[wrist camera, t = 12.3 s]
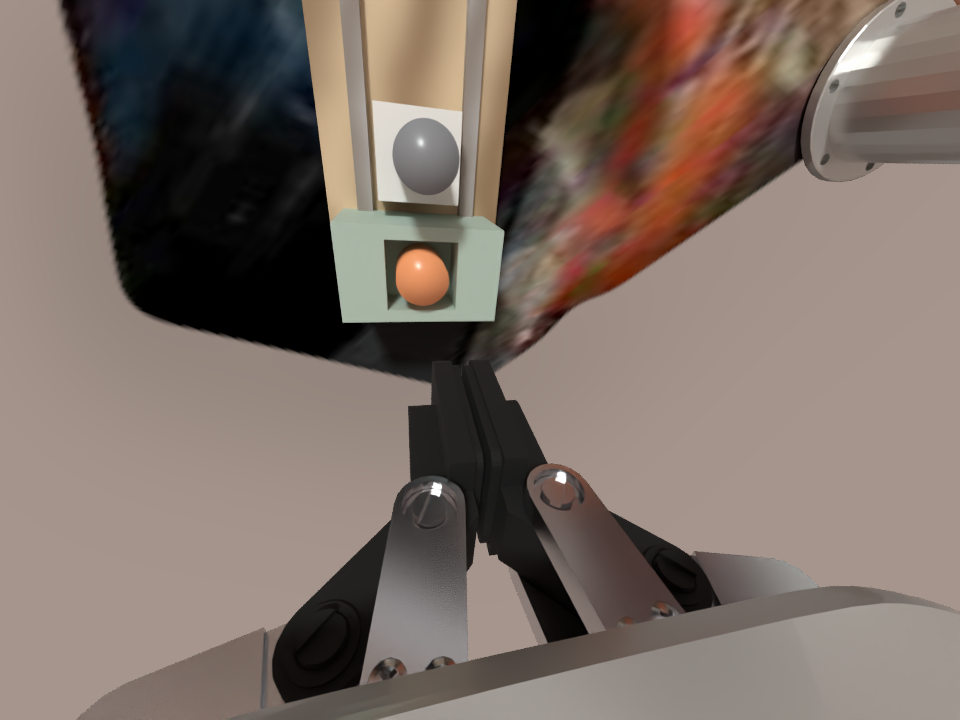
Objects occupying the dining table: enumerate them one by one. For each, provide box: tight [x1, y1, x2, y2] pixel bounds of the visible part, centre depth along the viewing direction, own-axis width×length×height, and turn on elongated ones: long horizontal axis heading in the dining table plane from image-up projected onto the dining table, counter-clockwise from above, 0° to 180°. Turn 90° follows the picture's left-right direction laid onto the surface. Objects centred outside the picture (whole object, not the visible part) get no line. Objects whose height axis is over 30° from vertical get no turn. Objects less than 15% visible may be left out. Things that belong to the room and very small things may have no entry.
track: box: [302, 0, 517, 224], centre depth 22 cm, size 12×22×4 cm, turn 176°
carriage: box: [372, 100, 462, 206], centre depth 19 cm, size 5×5×9 cm
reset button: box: [396, 243, 449, 306], centre depth 22 cm, size 3×3×3 cm
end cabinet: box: [330, 208, 504, 322], centre depth 25 cm, size 10×6×8 cm, turn 86°
